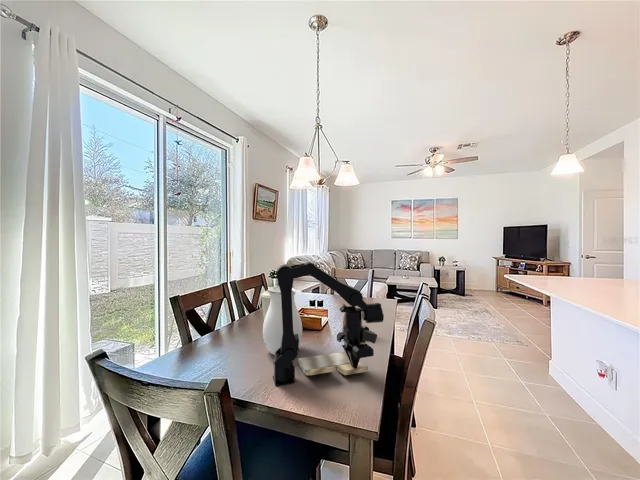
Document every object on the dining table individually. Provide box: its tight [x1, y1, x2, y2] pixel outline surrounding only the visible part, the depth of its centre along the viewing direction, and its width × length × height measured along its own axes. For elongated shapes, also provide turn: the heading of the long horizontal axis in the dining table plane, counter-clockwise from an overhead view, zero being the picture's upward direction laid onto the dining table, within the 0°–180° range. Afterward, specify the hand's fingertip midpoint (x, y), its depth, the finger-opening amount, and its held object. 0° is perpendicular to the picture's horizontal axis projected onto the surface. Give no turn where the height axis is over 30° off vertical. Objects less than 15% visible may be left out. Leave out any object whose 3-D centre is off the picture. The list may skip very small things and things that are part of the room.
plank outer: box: [336, 362, 369, 376], centre depth 103 cm, size 9×8×2 cm
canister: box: [259, 285, 279, 320], centre depth 163 cm, size 18×18×21 cm
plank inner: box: [304, 366, 337, 376], centre depth 100 cm, size 9×8×2 cm
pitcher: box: [262, 285, 303, 356], centre depth 126 cm, size 24×17×28 cm
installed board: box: [297, 351, 351, 375], centre depth 110 cm, size 21×10×2 cm, turn 108°
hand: (354, 367), depth 101 cm, fingers closed
